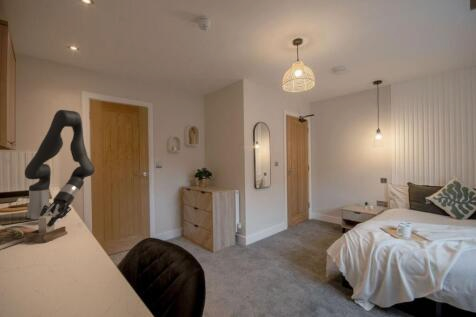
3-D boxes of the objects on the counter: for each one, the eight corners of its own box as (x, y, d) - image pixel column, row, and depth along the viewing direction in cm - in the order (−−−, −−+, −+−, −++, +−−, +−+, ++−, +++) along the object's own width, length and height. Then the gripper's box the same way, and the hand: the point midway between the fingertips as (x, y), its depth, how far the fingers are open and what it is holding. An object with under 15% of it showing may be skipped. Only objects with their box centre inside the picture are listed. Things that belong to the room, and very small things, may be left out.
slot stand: (23, 241, 98) (23, 233, 97) (47, 233, 108) (47, 225, 108) (45, 242, 97) (45, 234, 97) (67, 233, 108) (67, 226, 107)
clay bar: (38, 234, 101) (38, 217, 101) (46, 231, 105) (46, 215, 105) (46, 235, 100) (46, 217, 100) (54, 231, 104) (54, 215, 104)
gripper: (49, 190, 111) (24, 221, 99) (75, 191, 110) (53, 222, 98) (59, 198, 117) (36, 228, 105) (83, 199, 115) (63, 229, 104)
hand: (44, 225), depth 102 cm, fingers closed on clay bar, 4 cm apart
